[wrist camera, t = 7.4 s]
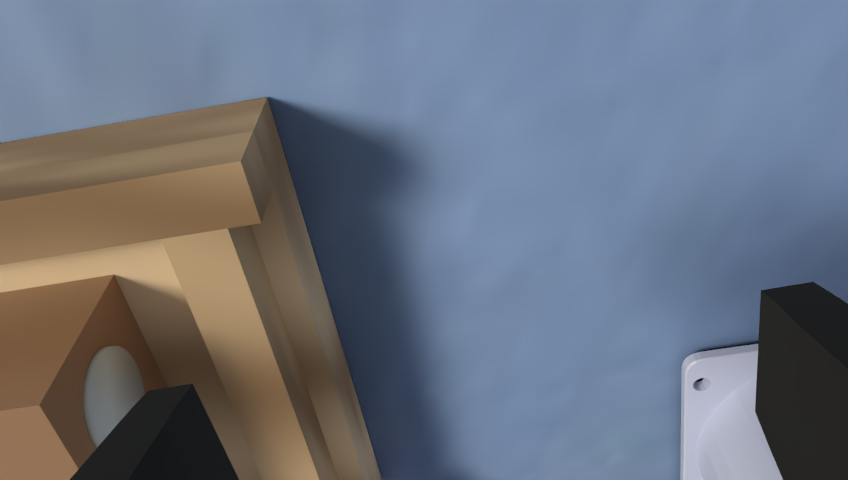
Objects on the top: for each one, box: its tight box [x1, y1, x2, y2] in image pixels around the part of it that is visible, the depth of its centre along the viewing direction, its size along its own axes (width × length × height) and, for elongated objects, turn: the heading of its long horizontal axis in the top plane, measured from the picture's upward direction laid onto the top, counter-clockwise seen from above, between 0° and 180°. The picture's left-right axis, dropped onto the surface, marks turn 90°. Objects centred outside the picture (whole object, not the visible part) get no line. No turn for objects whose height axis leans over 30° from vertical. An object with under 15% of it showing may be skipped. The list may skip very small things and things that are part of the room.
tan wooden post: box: [0, 275, 168, 480], centre depth 19 cm, size 8×3×4 cm, turn 10°
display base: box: [0, 97, 382, 480], centre depth 21 cm, size 14×12×4 cm
